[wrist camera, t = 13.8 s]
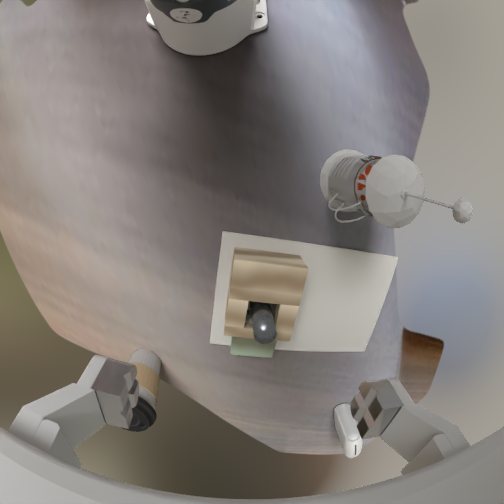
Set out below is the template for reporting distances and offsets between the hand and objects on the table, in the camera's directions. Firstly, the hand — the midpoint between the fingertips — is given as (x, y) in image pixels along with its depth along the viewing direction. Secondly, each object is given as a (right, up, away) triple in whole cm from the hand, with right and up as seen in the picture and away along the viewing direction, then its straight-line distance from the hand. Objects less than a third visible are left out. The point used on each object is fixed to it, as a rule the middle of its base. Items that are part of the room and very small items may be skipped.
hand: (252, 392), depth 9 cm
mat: (+9, -3, +37) cm, 38 cm away
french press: (+14, +15, +31) cm, 37 cm away
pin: (+1, -3, +35) cm, 35 cm away
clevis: (+1, -3, +35) cm, 35 cm away
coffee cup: (-20, -16, +39) cm, 47 cm away
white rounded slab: (+22, -35, +48) cm, 63 cm away
